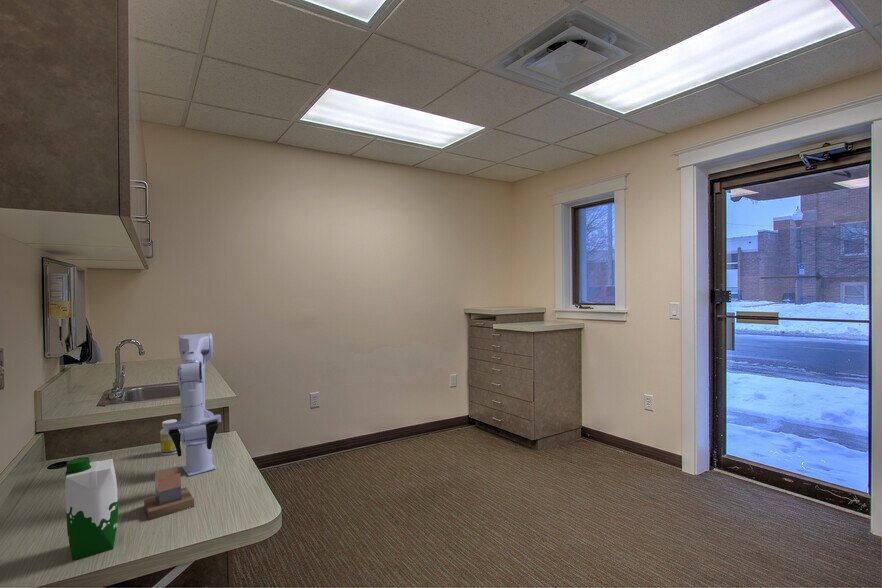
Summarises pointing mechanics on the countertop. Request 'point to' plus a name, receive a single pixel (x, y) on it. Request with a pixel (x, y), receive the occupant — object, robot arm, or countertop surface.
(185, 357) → the robot arm
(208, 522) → the countertop surface
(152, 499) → the walnut stand
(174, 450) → the supplement bottle
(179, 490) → the block
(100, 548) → the milk carton
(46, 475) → the countertop surface
